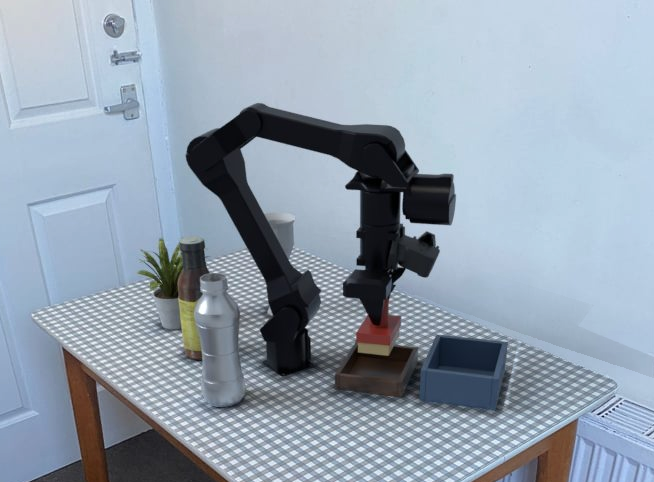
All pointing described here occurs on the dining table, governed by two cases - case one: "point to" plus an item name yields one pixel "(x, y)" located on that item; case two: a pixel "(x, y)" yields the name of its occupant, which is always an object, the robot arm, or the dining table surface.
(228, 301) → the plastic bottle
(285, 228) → the chalice
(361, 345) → the brush
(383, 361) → the brown wooden tray
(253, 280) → the dining table surface
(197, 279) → the sauce bottle
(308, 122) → the robot arm
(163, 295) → the house plant
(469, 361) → the tote
